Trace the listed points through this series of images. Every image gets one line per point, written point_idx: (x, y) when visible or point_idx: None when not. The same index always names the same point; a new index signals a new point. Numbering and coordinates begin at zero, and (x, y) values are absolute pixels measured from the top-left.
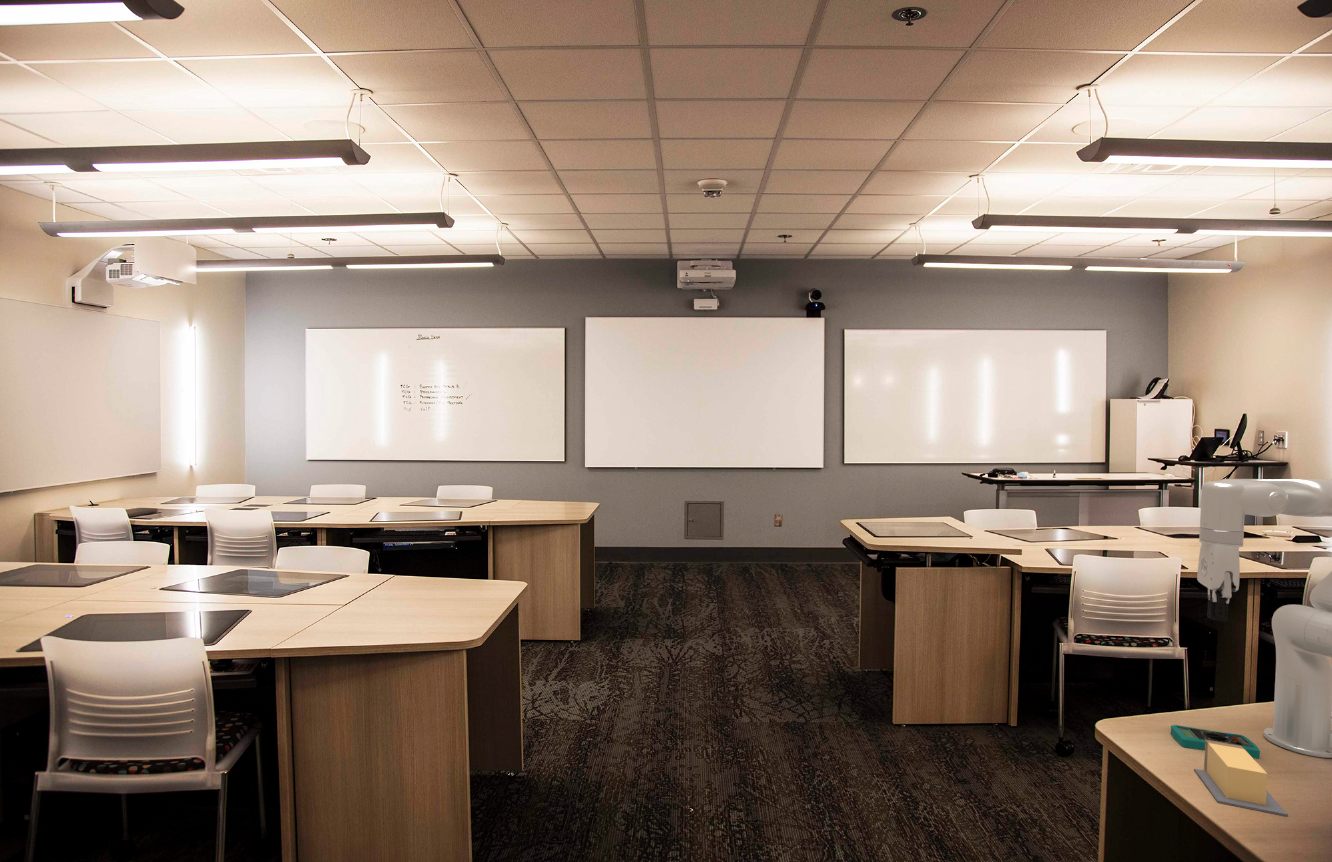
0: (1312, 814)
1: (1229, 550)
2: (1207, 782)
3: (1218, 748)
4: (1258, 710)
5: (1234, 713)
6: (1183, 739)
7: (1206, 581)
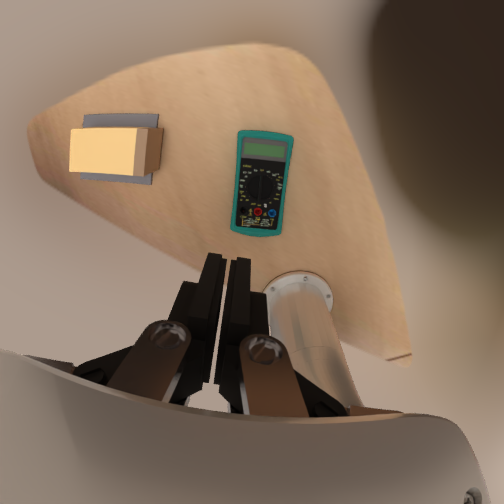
0: (96, 206)
1: None
2: (122, 117)
3: (121, 136)
4: (392, 308)
5: (383, 275)
6: (239, 131)
7: (54, 441)
